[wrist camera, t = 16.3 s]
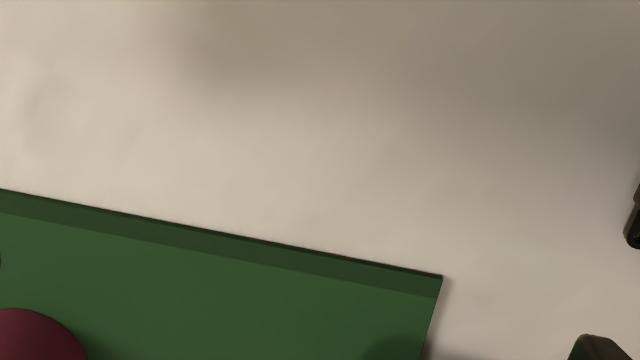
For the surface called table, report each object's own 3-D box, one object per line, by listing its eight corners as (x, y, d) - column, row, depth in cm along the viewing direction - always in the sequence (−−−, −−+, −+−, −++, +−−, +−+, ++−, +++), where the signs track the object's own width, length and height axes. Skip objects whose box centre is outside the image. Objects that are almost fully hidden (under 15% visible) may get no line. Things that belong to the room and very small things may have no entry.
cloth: (442, 275, 24) (442, 280, 24) (378, 488, 31) (378, 494, 31) (-76, 173, 26) (-81, 177, 25) (-28, 400, 32) (-32, 405, 32)
